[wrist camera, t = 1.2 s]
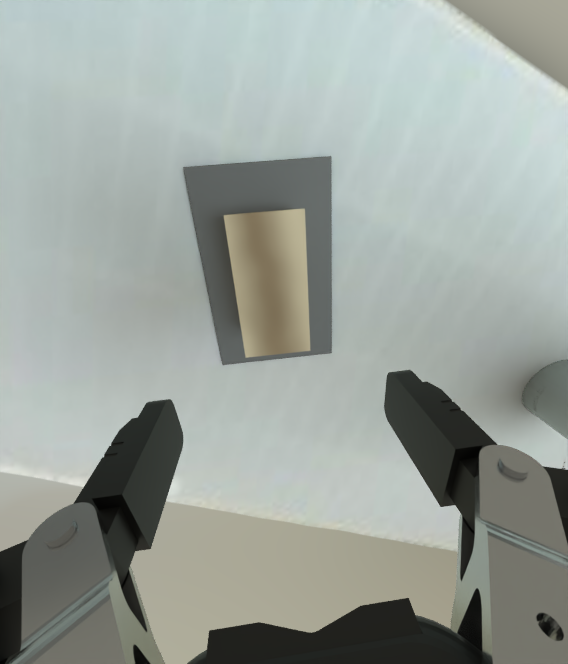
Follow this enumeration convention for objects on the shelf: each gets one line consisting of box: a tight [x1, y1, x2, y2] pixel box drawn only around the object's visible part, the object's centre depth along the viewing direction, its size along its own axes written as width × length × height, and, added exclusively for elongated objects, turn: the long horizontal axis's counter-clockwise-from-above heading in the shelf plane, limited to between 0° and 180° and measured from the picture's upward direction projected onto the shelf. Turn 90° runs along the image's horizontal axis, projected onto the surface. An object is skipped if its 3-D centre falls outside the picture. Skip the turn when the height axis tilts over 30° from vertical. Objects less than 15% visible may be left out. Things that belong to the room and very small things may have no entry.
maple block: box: [224, 209, 310, 358], centre depth 25 cm, size 6×12×6 cm, turn 4°
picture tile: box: [183, 156, 332, 365], centre depth 28 cm, size 13×20×1 cm, turn 4°
